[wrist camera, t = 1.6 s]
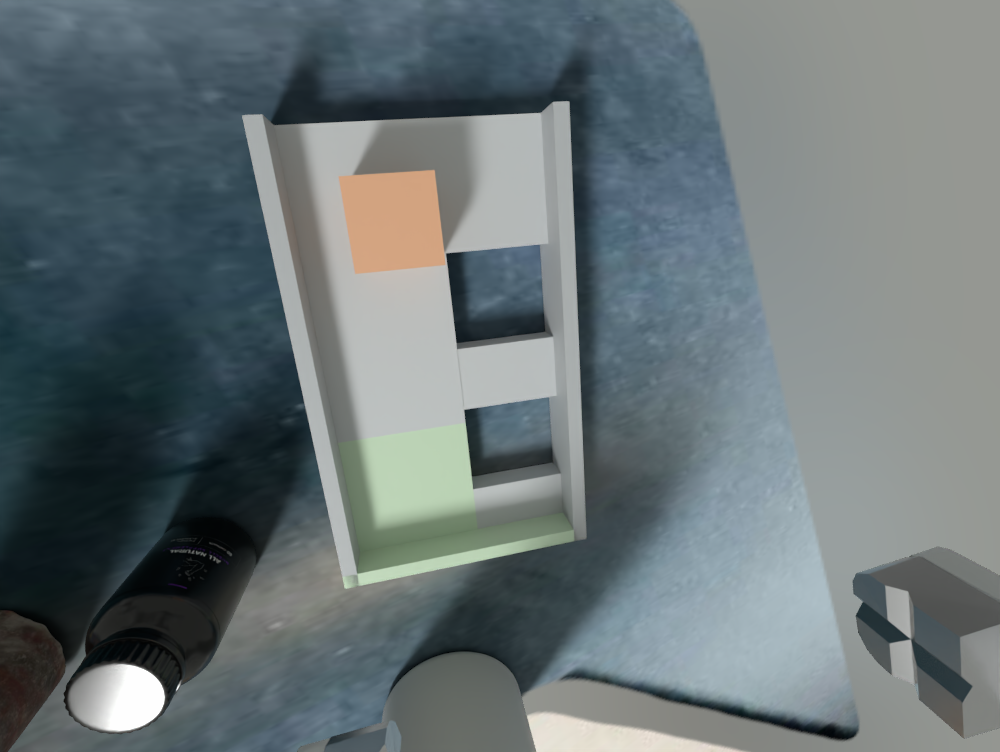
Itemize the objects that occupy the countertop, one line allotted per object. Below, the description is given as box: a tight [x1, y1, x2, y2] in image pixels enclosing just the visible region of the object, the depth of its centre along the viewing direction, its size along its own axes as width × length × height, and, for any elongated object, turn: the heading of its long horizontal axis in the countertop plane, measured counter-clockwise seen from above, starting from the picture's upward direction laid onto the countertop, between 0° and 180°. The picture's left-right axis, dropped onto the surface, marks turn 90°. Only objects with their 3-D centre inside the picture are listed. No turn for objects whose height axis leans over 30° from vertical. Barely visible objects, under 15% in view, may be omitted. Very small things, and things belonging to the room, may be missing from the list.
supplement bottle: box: [64, 517, 256, 734], centre depth 30 cm, size 7×7×12 cm
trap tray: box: [242, 101, 587, 589], centre depth 33 cm, size 30×18×4 cm, turn 5°
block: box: [338, 170, 446, 274], centre depth 28 cm, size 5×5×4 cm
